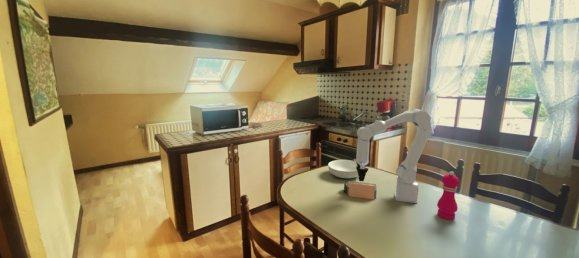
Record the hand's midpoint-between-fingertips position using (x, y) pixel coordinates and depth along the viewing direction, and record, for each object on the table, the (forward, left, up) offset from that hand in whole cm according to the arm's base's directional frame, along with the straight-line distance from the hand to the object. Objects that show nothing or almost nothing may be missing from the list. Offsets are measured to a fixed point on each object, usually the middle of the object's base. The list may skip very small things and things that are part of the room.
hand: (361, 178), depth 119 cm
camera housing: (-1, -2, -9) cm, 10 cm away
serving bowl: (+9, -25, -10) cm, 29 cm away
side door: (-1, +3, -9) cm, 10 cm away
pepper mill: (-36, +9, -10) cm, 38 cm away
